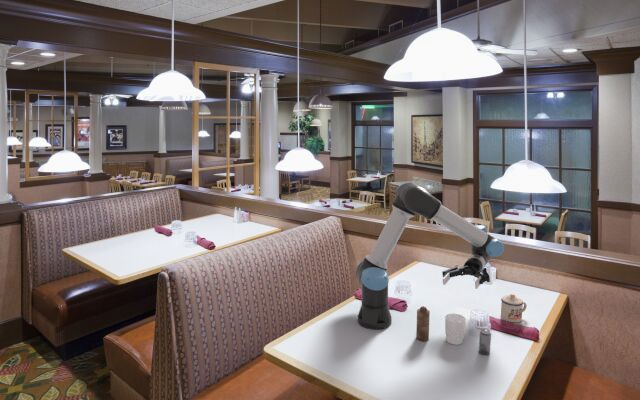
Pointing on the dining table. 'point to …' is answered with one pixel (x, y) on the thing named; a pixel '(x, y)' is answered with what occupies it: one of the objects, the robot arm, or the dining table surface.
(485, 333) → the salt shaker
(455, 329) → the white cup
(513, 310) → the teacup with lid
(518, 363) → the dining table surface
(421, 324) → the pepper mill
